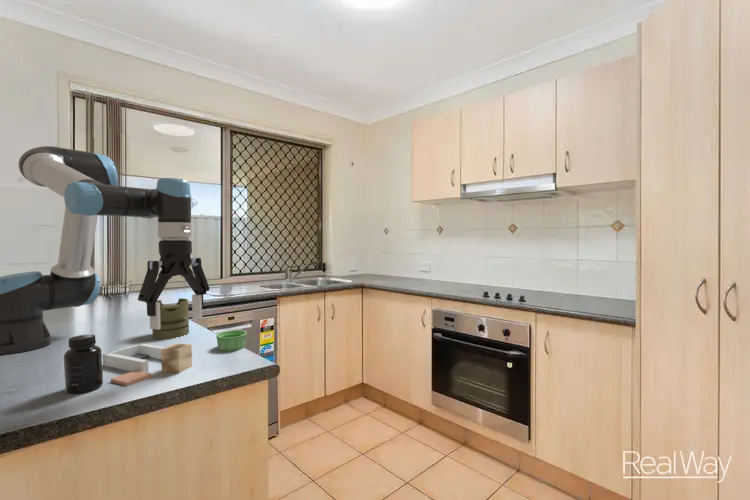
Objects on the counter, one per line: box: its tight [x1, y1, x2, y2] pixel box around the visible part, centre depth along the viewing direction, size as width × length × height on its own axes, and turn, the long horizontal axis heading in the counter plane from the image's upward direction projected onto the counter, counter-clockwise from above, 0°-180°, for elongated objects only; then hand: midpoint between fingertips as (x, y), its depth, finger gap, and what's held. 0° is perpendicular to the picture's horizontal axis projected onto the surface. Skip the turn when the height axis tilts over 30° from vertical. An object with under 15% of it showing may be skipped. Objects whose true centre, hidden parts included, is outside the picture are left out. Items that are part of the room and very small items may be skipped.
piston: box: [151, 298, 190, 340], centre depth 131 cm, size 11×12×11 cm
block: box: [160, 343, 193, 374], centre depth 97 cm, size 5×5×6 cm
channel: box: [102, 343, 166, 373], centre depth 102 cm, size 16×11×3 cm
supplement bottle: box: [63, 333, 104, 395], centre depth 85 cm, size 7×7×12 cm
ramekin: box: [215, 329, 248, 352], centre depth 116 cm, size 9×9×4 cm
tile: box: [110, 370, 153, 387], centre depth 90 cm, size 6×6×1 cm
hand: (177, 323), depth 96 cm, fingers open, 11 cm apart
